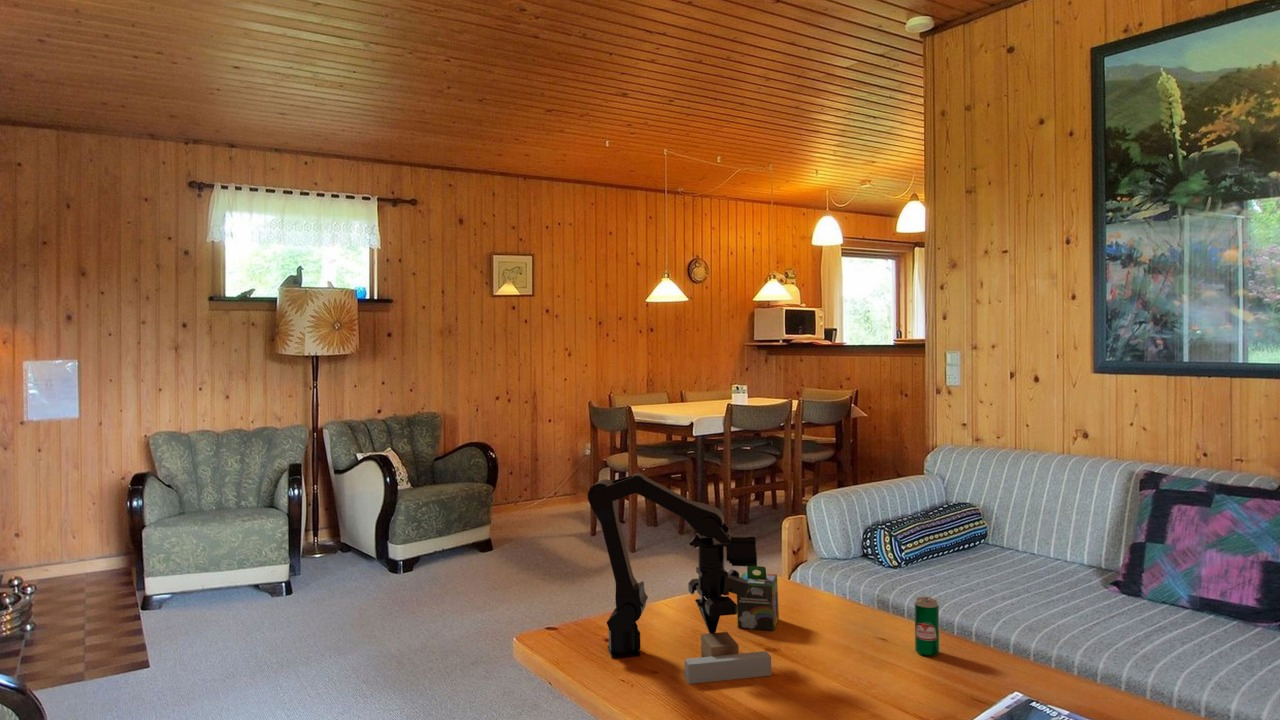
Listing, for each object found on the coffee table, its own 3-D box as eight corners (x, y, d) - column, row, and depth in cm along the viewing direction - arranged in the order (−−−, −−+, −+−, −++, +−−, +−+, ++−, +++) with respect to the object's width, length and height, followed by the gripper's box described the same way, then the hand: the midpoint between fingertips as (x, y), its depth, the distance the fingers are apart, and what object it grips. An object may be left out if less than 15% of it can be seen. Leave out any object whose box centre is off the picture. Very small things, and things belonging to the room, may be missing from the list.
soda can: (913, 655, 173) (912, 601, 173) (917, 647, 178) (916, 594, 178) (937, 659, 171) (937, 604, 171) (940, 651, 176) (940, 597, 175)
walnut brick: (711, 675, 165) (711, 647, 165) (701, 661, 173) (700, 634, 172) (738, 673, 166) (738, 644, 166) (727, 658, 174) (726, 631, 174)
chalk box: (779, 619, 198) (778, 561, 198) (774, 631, 189) (773, 571, 189) (743, 616, 201) (742, 558, 201) (736, 628, 192) (735, 568, 192)
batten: (688, 684, 160) (688, 664, 160) (684, 678, 163) (684, 659, 163) (771, 675, 164) (771, 656, 164) (766, 669, 167) (766, 651, 167)
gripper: (759, 574, 167) (760, 646, 167) (732, 552, 185) (733, 617, 185) (709, 577, 165) (710, 651, 165) (687, 555, 183) (688, 621, 183)
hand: (712, 634), depth 175 cm, fingers closed
